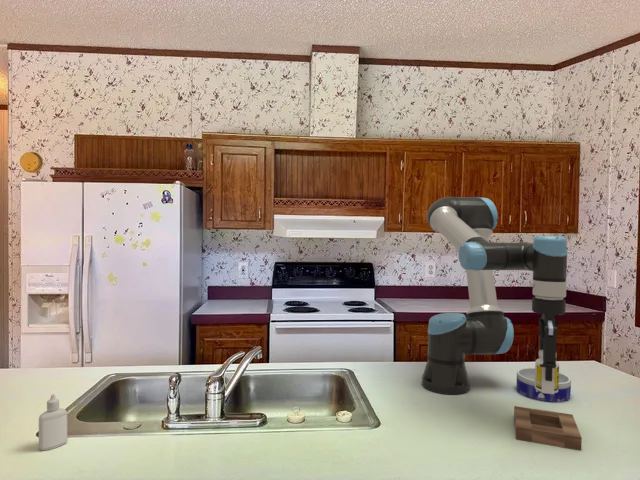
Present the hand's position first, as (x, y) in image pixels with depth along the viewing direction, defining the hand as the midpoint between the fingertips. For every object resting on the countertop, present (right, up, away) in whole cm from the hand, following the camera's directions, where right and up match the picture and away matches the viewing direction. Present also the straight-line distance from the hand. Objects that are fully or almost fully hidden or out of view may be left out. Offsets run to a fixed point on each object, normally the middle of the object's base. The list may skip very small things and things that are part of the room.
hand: (546, 388), depth 114 cm
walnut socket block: (0, -11, 0) cm, 11 cm away
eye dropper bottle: (-119, -10, -9) cm, 120 cm away
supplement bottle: (0, -1, 0) cm, 1 cm away
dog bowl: (+13, -11, +28) cm, 32 cm away
